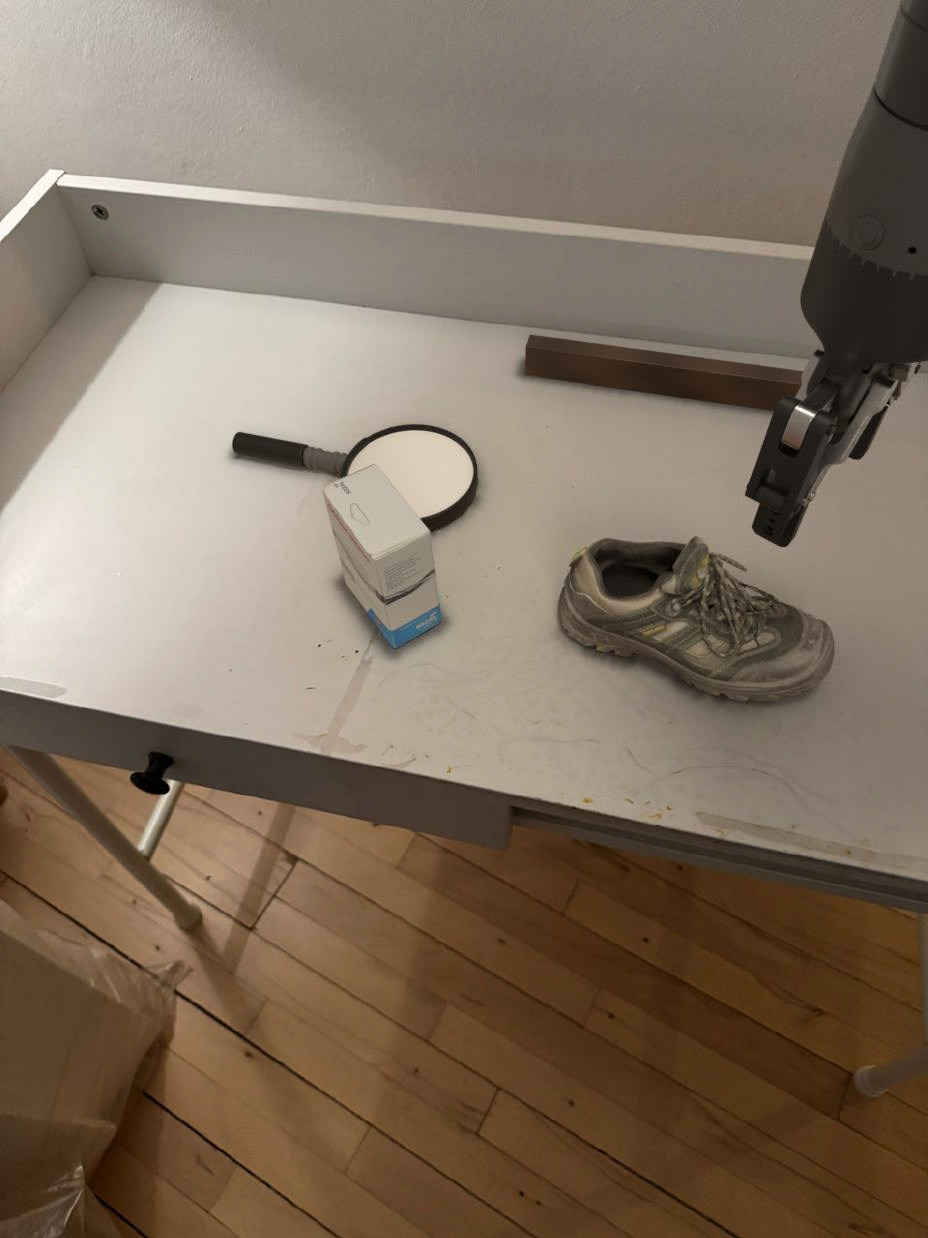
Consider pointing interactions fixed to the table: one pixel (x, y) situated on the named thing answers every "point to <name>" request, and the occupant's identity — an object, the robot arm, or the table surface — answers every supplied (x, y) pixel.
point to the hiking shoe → (692, 619)
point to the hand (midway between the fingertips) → (809, 492)
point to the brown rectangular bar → (660, 372)
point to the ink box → (384, 554)
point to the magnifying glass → (391, 465)
